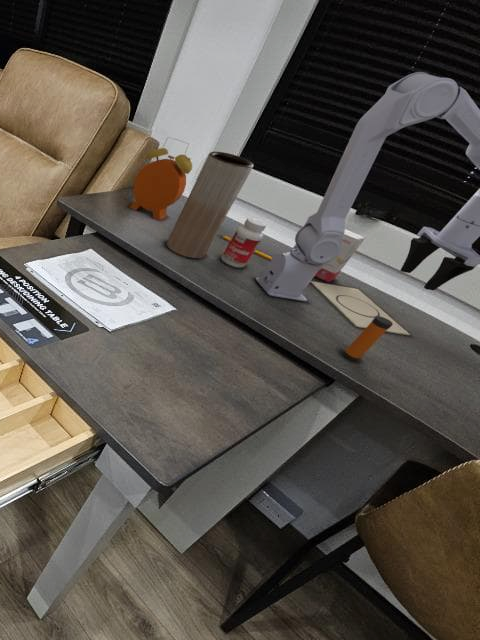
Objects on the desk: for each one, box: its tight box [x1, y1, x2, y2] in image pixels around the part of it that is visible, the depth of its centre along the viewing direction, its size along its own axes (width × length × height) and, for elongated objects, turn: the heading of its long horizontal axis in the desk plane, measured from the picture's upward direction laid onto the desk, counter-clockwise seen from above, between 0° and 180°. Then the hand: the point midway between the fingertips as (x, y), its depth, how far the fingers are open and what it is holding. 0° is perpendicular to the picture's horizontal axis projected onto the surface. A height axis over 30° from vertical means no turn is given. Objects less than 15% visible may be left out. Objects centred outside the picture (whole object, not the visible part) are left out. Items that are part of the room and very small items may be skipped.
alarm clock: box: [129, 136, 193, 221], centre depth 130 cm, size 13×6×20 cm, turn 49°
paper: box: [310, 280, 411, 336], centre depth 109 cm, size 13×20×1 cm, turn 177°
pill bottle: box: [220, 217, 267, 269], centre depth 114 cm, size 6×6×11 cm
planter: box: [166, 151, 254, 259], centre depth 111 cm, size 10×10×23 cm
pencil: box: [221, 235, 273, 261], centre depth 126 cm, size 1×18×1 cm, turn 40°
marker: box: [342, 316, 393, 362], centre depth 88 cm, size 3×3×9 cm
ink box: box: [314, 228, 366, 283], centre depth 117 cm, size 9×5×12 cm, turn 33°
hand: (416, 280), depth 101 cm, fingers open, 7 cm apart
